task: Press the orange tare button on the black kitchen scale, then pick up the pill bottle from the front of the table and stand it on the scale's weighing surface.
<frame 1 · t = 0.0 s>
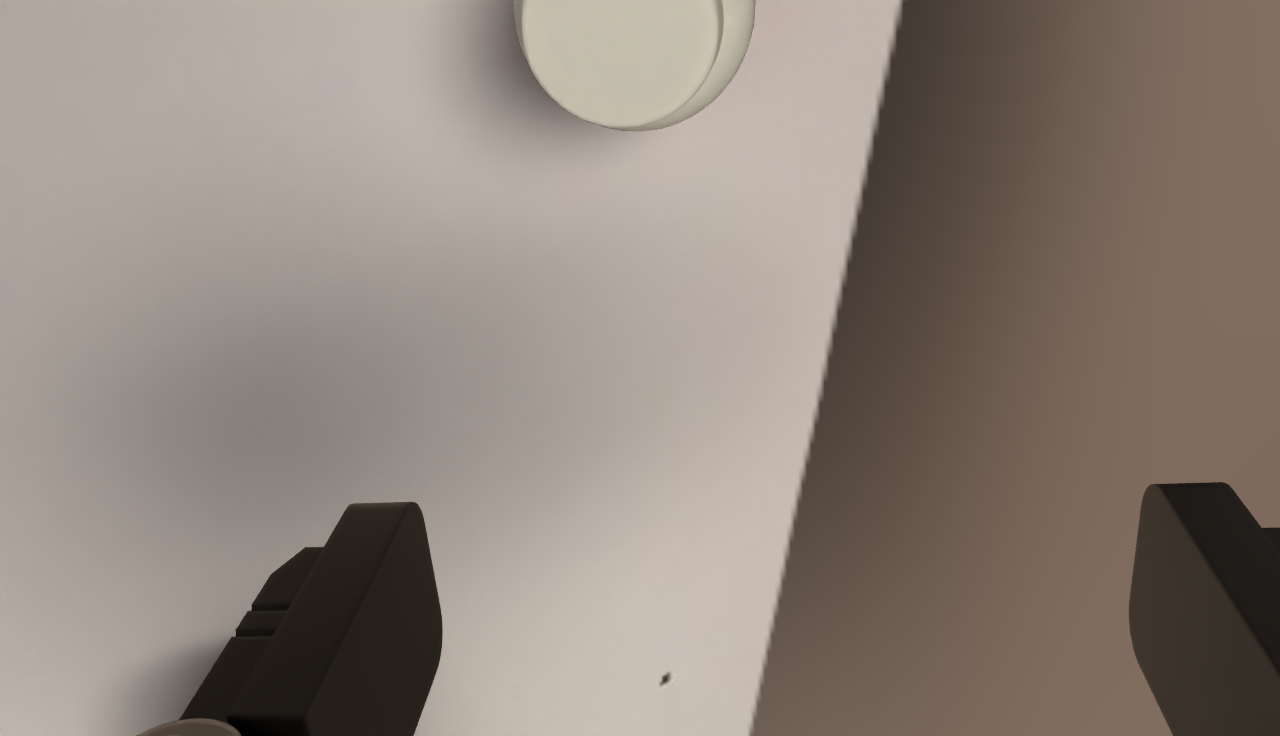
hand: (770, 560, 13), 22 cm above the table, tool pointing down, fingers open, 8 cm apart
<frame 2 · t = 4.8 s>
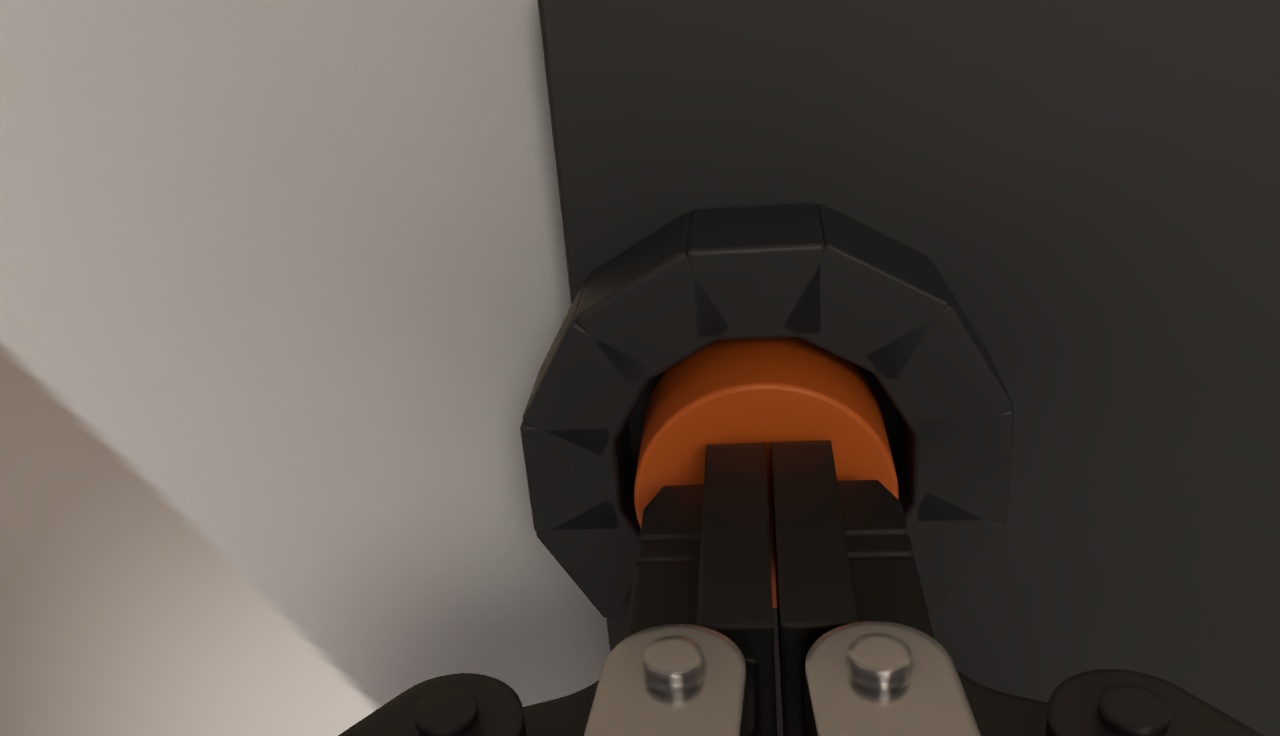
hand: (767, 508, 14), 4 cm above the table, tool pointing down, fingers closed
tare button: (763, 466, 15), point 3 cm above the table, slide at -0.6 cm, touching gripper
scale: (1140, 358, 17), on the table
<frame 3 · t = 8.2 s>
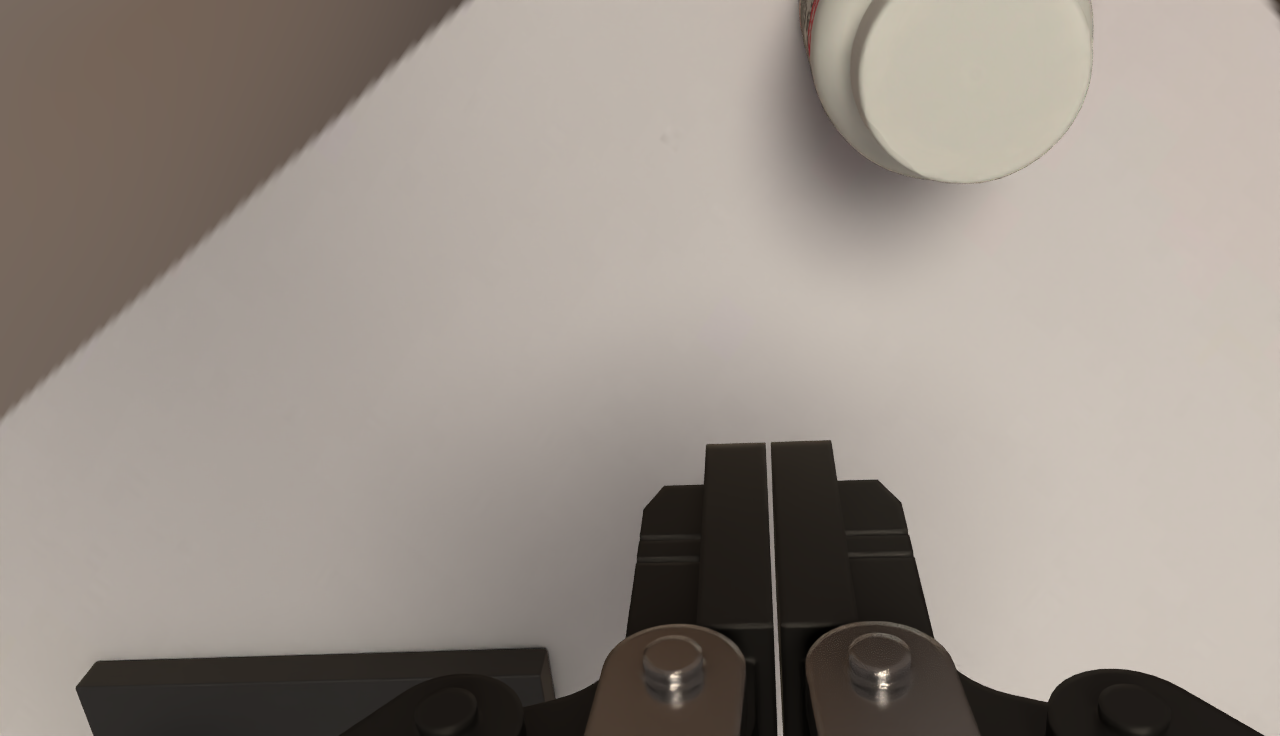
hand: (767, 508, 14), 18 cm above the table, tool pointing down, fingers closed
pill bottle: (904, 0, 29), on the table
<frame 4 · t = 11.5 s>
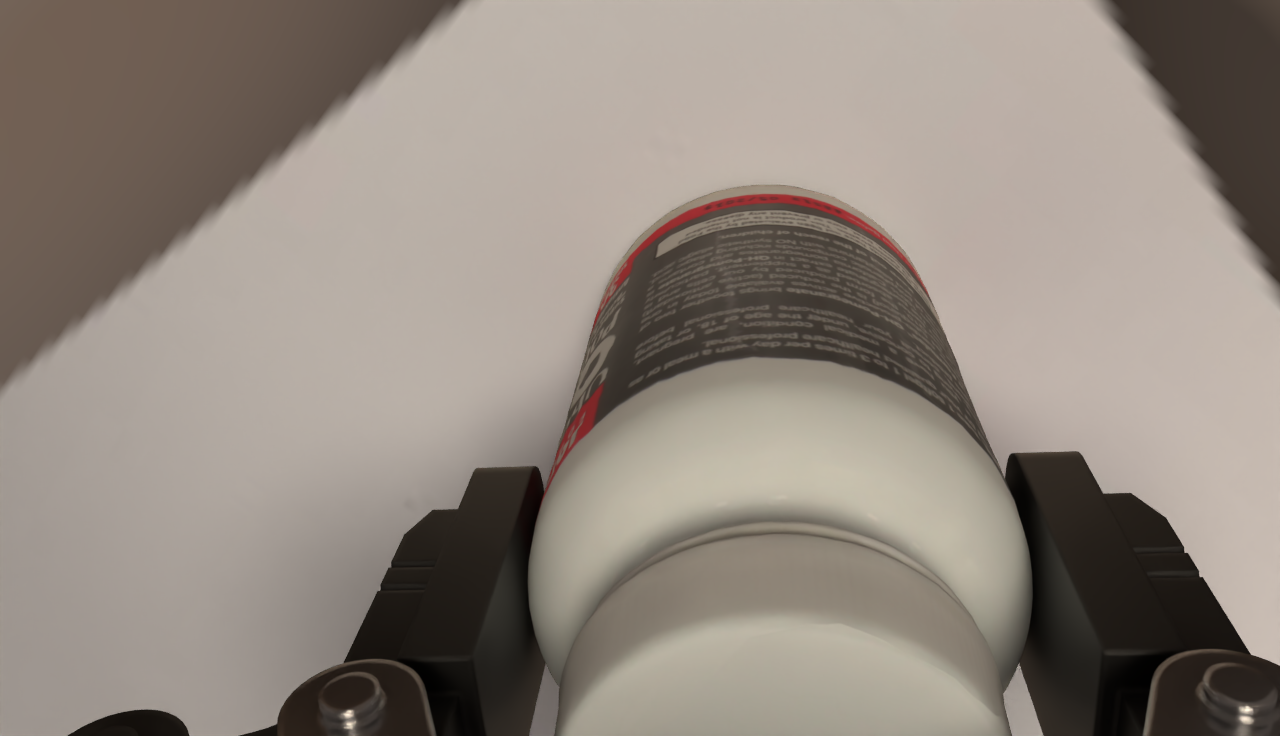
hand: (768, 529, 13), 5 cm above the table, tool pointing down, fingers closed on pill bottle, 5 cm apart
pill bottle: (761, 335, 19), on the table, touching gripper
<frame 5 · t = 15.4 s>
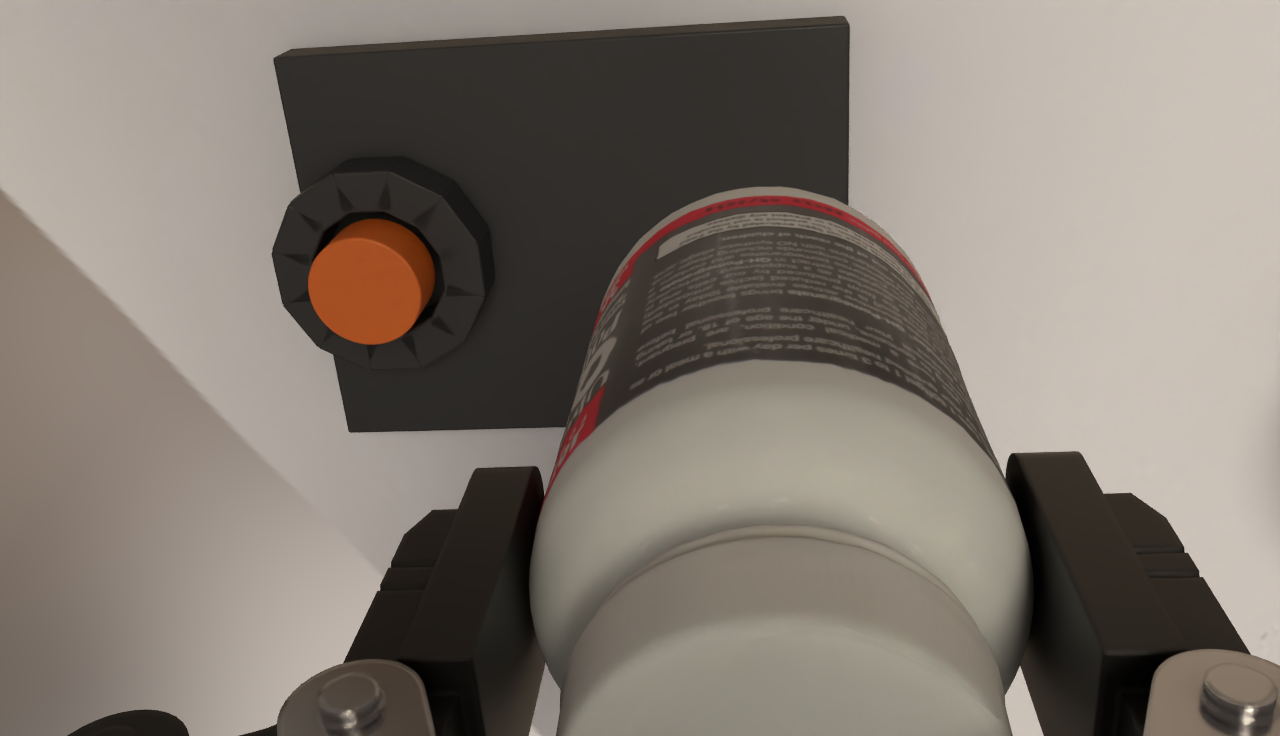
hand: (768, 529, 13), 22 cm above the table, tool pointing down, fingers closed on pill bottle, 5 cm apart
tare button: (373, 281, 32), point 4 cm above the table, slide at 0.1 cm
scale: (580, 233, 35), on the table
pill bottle: (762, 337, 19), point 16 cm above the table, touching gripper
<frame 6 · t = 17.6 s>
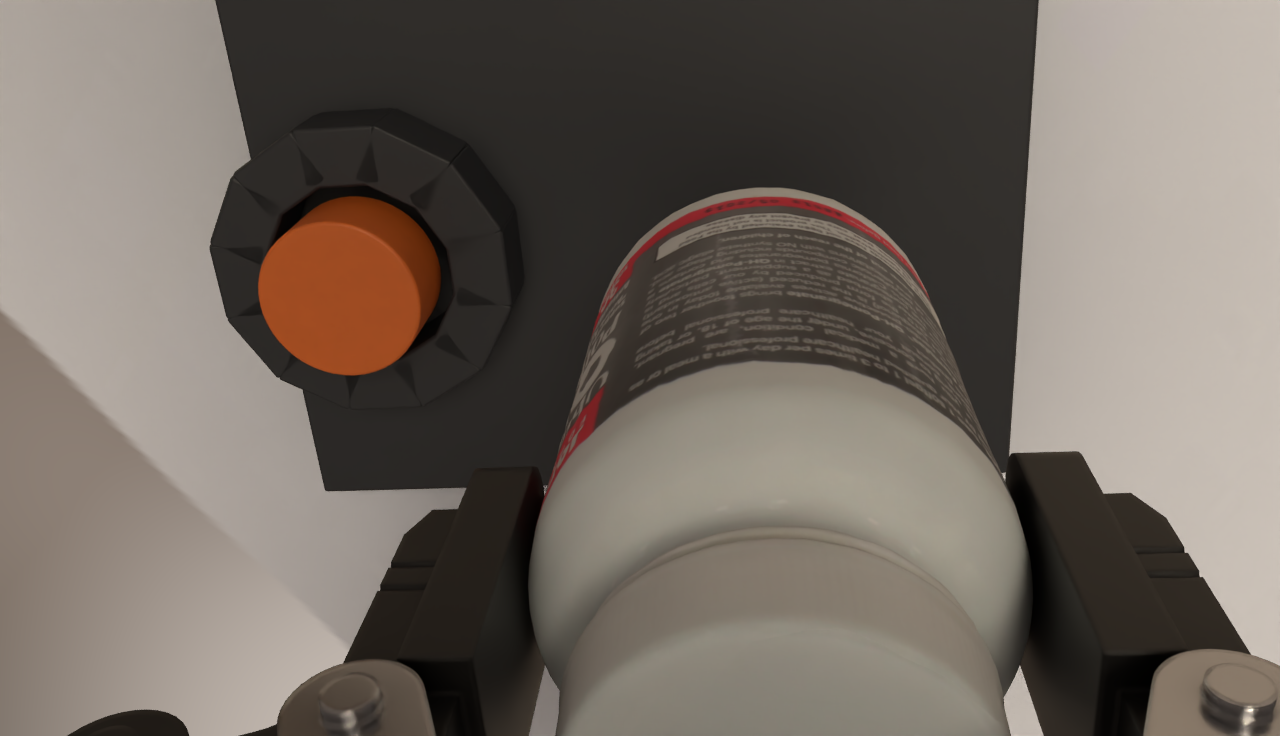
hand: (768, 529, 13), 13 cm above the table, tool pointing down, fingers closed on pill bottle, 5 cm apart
tare button: (352, 285, 23), point 4 cm above the table, slide at 0.1 cm
scale: (640, 217, 25), on the table
pill bottle: (761, 338, 19), point 7 cm above the table, touching gripper
when the fingers open (7 cm above the table, at t = 19.4 s): pill bottle stays where it is, resting on scale.
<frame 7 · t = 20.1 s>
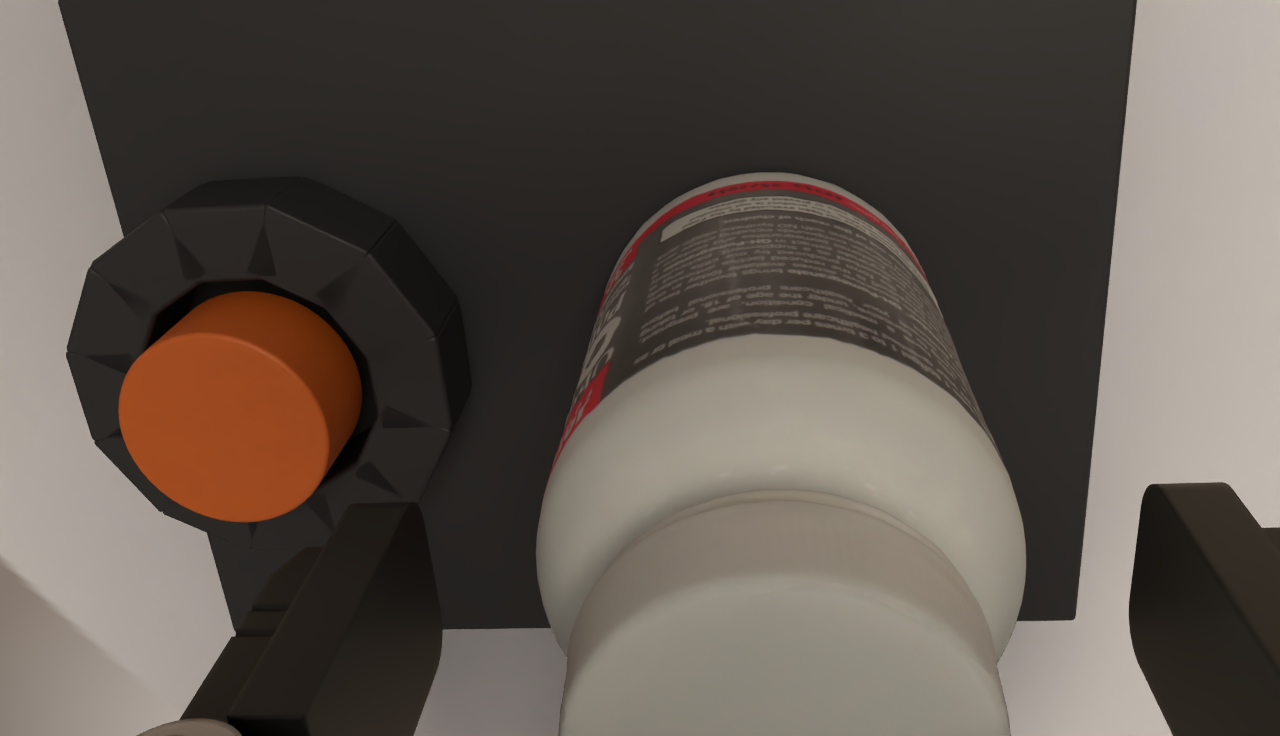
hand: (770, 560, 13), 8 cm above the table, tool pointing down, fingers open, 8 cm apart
tare button: (245, 406, 18), point 4 cm above the table, slide at 0.1 cm
scale: (618, 305, 20), on the table
pill bottle: (763, 321, 19), point 1 cm above the table, touching scale
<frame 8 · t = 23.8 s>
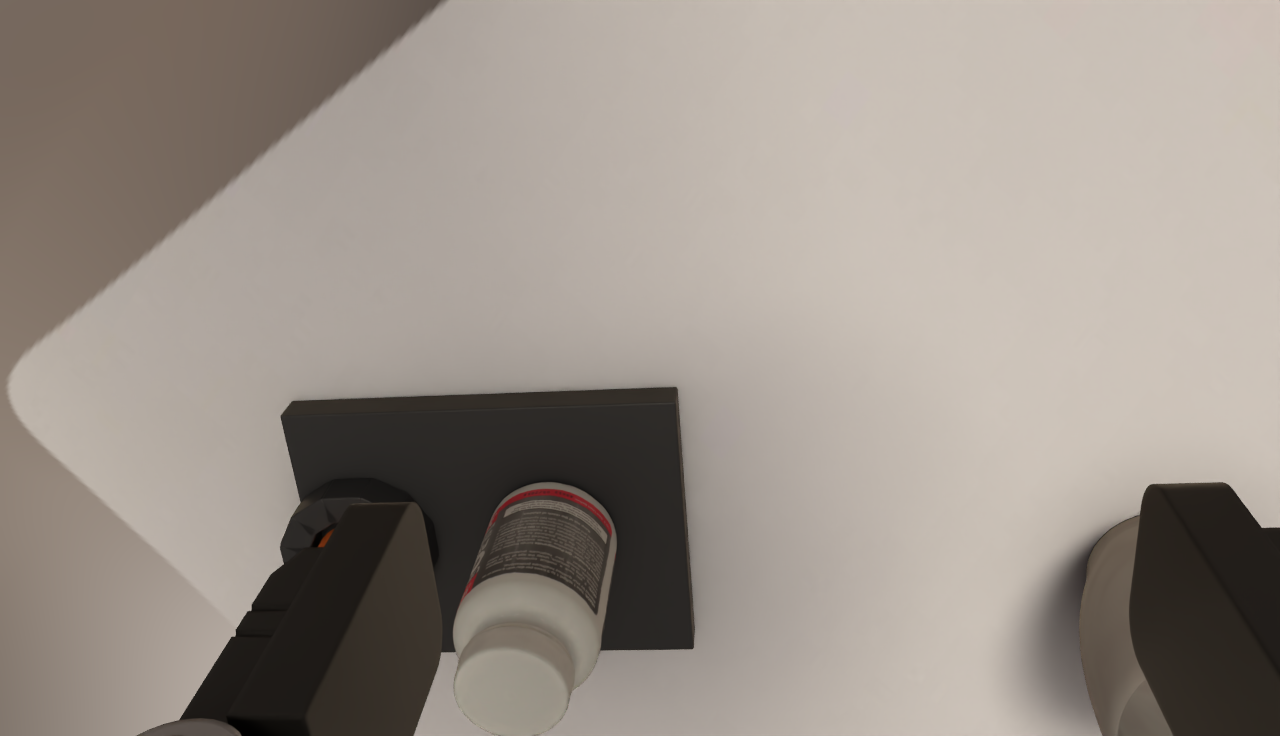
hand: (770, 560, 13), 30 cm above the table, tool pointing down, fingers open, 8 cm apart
tare button: (350, 569, 46), point 4 cm above the table, slide at 0.1 cm
scale: (500, 518, 49), on the table
mug: (1175, 585, 48), on the table
pill bottle: (554, 531, 47), point 1 cm above the table, touching scale
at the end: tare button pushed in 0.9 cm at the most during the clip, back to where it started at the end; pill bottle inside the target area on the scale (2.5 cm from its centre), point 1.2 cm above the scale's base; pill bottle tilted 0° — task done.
